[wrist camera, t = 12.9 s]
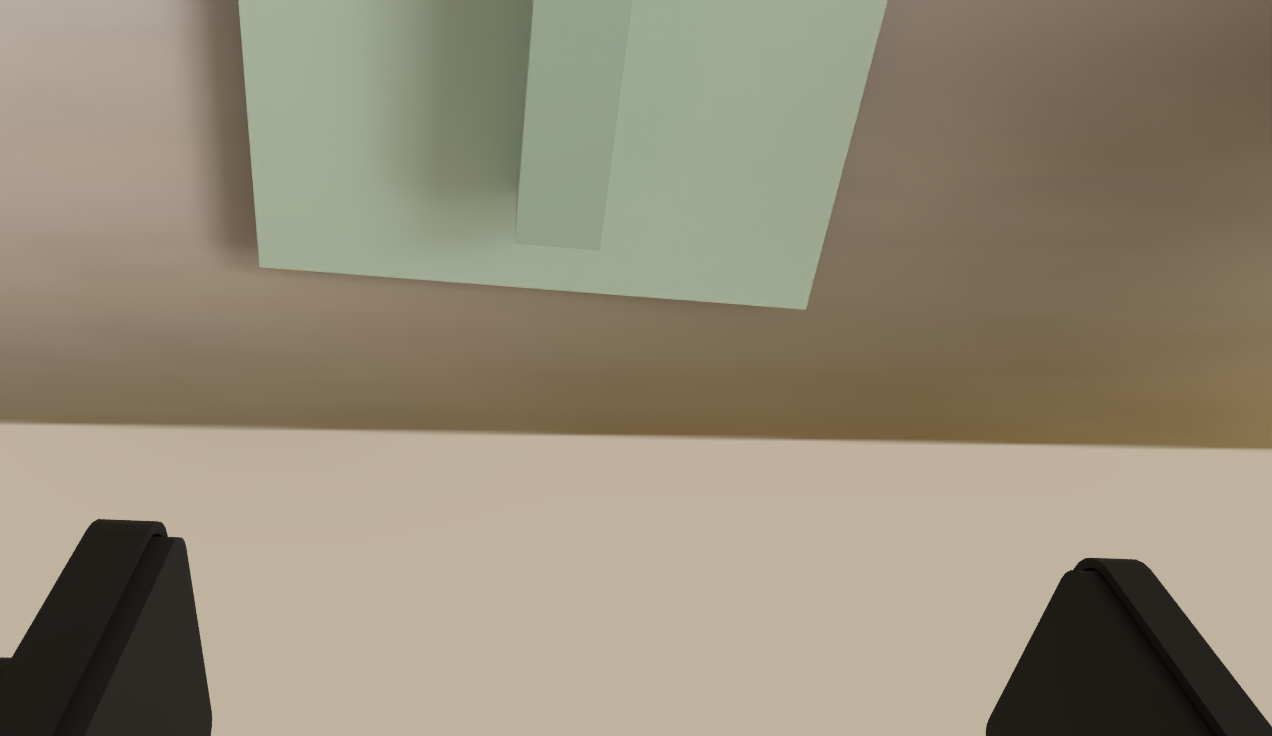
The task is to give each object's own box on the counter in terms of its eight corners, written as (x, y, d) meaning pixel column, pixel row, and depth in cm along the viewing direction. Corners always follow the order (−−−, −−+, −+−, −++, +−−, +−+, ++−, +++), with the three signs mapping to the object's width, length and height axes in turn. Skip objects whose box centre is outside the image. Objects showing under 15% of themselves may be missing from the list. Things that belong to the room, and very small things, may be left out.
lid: (903, -162, 28) (988, -146, 23) (791, 282, 36) (836, 368, 31) (239, -270, 25) (165, -280, 20) (274, 239, 33) (227, 327, 28)
